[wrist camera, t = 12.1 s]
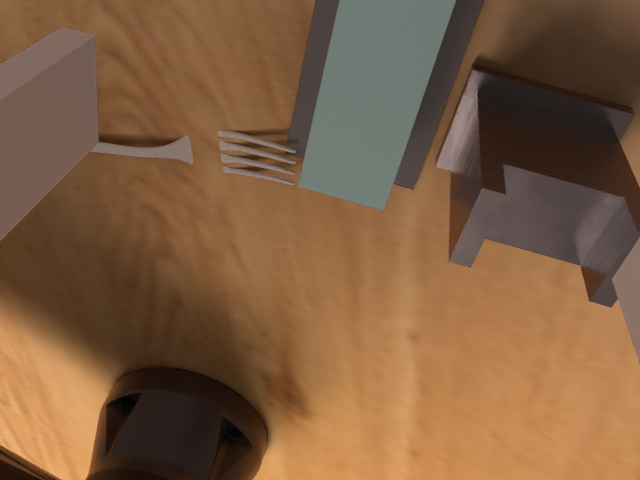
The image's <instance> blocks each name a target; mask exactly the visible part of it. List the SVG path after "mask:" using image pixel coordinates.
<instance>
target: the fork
mask: <svg viewBox="0 0 640 480" xmlns="http://www.w3.org/2000/svg"><path fill="white" fill-rule="evenodd" d="M217 133H218V136H220V137H222V138H225V137H230V138H236V139H242V140H245V141H249V142H253V143H257V144H260V145H264V146H268V147H272V148H276V149H279V150H283V151H287V152H291V153H296V150H294V149H291V148H288V147H285V146H282V145H279V144H277V143H274V142H271V141H267V140H263V139H260V138H256V137H253V136H249V135H246V134H242V133H238V132H234V131H229V130H222V131H218V132H217ZM219 147H220V150H223V151H227V150H233V151H241V152H246V153H250V154H254V155H258V156H263V157H267V158H271V159H275V160H279V161H283V162H287V163H291V164H296V161H294V160H291V159H288V158H285V157H282V156H279V155H276V154H273V153H269V152H265V151H262V150H258V149H254V148H250V147H246V146H242V145H238V144H234V143H227V142H225V141H221V140H219ZM90 152H96V153H108V154H117V155H126V156H136V157H150V158H171V159H177V160H182V161H185V162H187V163H190V164H192V165H193V162H194V161H193V155H192V149H191V143H190V138H189V136H188V135H185V136H183V137H181V138H179V139H178V140H176V141H174V142H173V143H170V144H167V145H164V146H159V147H132V146H124V145H118V144H112V143H106V142H100V141H98V144H97V145H96V146H95V147H94V148H93V149H92V150H91V151H90ZM221 161H222V163H225V164H228V163H240V164H247V165H251V166H256V167H261V168H265V169H270V170H274V171H279V172H283V173H287V174H291V175H296V172H294V171H291V170H288V169H285V168H281V167H278V166H275V165H271V164H267V163H263V162H259V161H255V160H250V159H246V158H242V157H237V156H229V155H227V154H222V153H221ZM222 171H223V172H224V173H229V174H237V175H245V176H250V177H256V178H261V179H266V180H271V181H276V182H280V183H285V184H289V185H296V183H295V182H292V181H289V180H285V179H282V178H279V177H276V176H272V175H268V174H263V173H258V172H253V171H249V170H244V169H238V168H229V167H227V166H225V167H224V168H223V169H222Z"/></svg>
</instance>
